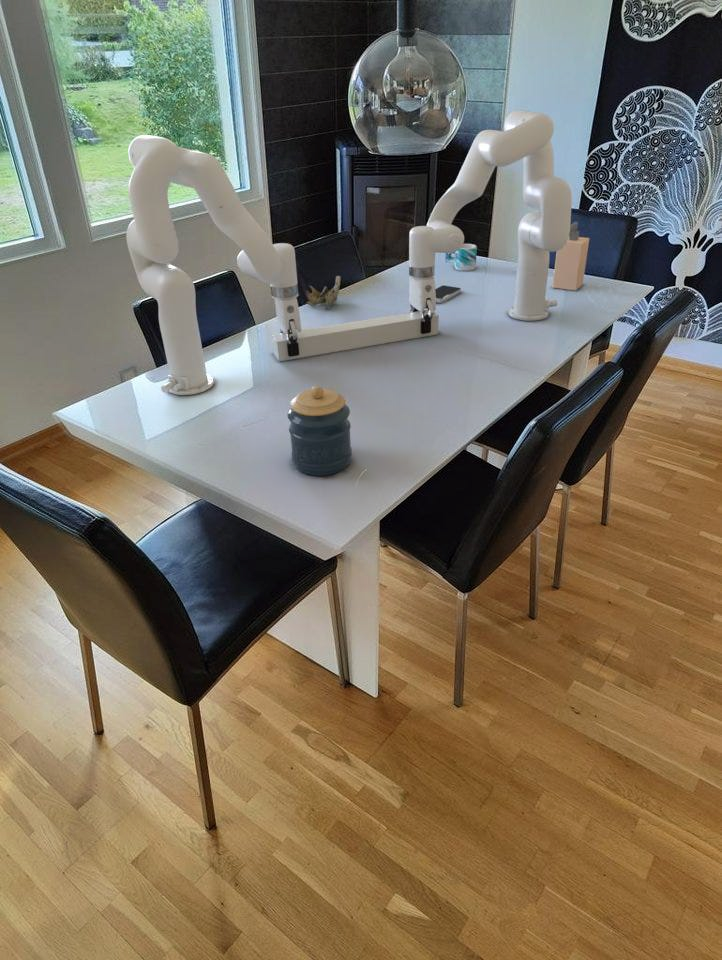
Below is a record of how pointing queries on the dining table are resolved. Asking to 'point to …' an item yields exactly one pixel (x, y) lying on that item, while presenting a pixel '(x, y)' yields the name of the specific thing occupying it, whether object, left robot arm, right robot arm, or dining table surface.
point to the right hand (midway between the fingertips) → (420, 328)
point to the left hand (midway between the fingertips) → (290, 350)
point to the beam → (354, 335)
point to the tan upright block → (571, 261)
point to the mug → (464, 257)
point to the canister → (320, 432)
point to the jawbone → (324, 295)
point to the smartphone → (446, 293)
